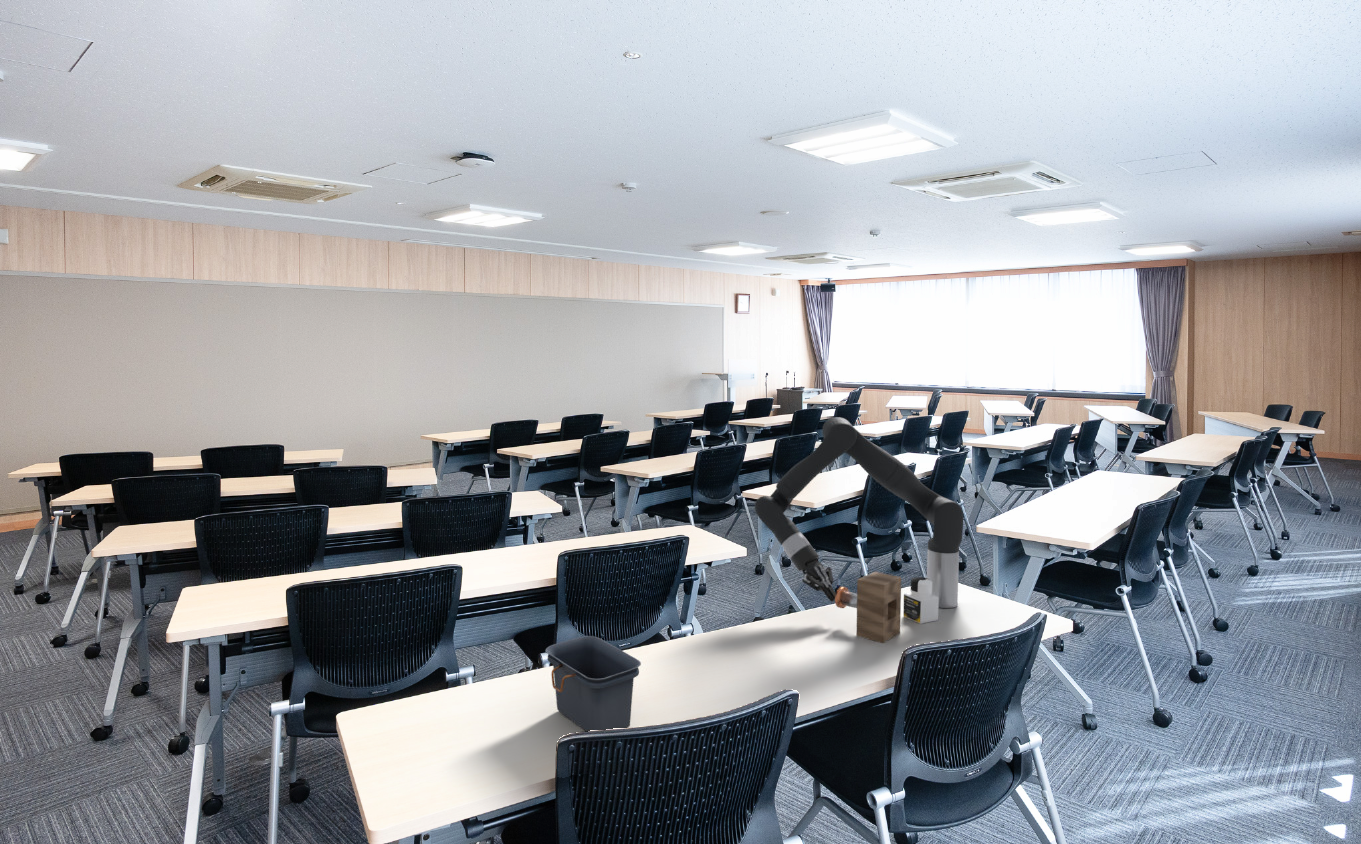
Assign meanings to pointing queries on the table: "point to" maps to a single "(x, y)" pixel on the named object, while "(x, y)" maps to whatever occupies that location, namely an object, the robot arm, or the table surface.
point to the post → (878, 606)
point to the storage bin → (593, 682)
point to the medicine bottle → (921, 602)
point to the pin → (845, 598)
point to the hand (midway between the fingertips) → (835, 599)
